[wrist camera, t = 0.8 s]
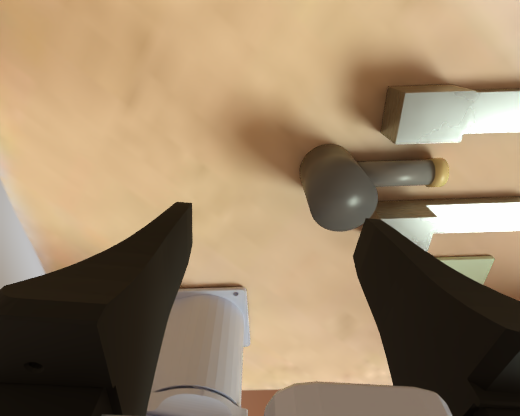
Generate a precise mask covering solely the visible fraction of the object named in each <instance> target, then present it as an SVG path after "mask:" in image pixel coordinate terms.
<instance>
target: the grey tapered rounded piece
mask: <svg viewBox="0 0 520 416" xmlns="http://www.w3.org/2000/svg"><path fill="white" fill-rule="evenodd" d="M448 177H449V167H448V163H447V162H446V160H445V159H443V158H431V159H427V160H399V161H368V162H356V161H355V159H354V158H353V157H352V156H351V154H350V153H349V152H348V151H347V150H346V149H344V148H343V147H341V146H338V145H333V144H326V145H321V146H319V147H316V148H314V149H313V150H311V151H310V152H309V153H308V154H307V155H306V156H305V158H304V159H303V161H302V163H301V166H300V179H301V182H302V185H303V188H304V192H305V195H306V198H307V201H308V205H309V208H310V211H311V214H312V217H313V218H314V220H315V221H316V222H317V223H318V224H319V225H320V226H321V227H323V228H325V229H328V230H331V231H348V230H351V229H354V228H357V227H358V226H360V225H362V224H363V223H364V222H365V219H366V218H370V217H371V216H372V214H373V213H374V211H375V209H376V206H377V203H378V193H377V189H376V187H384V186H415V185H425V186H427V187H442V186H444V185H445V184H446V182H447V180H448Z"/></svg>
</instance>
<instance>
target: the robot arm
mask: <svg viewBox="0 0 520 416" xmlns="http://www.w3.org/2000/svg"><path fill="white" fill-rule="evenodd" d="M191 248H192V203H184V202H176V203H175V204H173V205H172V206H171V207H170V208H168V209H167V210H166V211H165V212H163V213H162V214H161V215H160V216H158V217H157V218H156V219H154V220H153V221H152V222H151V223H149V224H148V225H147V226H145V227H144V228H142V229H141V230H139V231H138V232H136V233H135V234H133V235H132V236H130V237H129V238H127V239H125V240H124V241H122V242H120V243H118V244H117V245H115V246H113V247H111V248H109V249H107V250H105V251H103V252H101V253H99V254H97V255H94V256H92V257H90V258H88V259H85V260H83V261H81V262H78V263H76V264H73V265H71V266H68V267H65V268H63V269H60V270H57V271H54V272H51V273H48V274H45V275H42V276H38V277H35V278H31V279H28V280H24V281H21V282H17V283H14V284H10V285H6V286H4V287H3V288H2V289H0V416H248V410H247V409H245V408H241V390H242V364H243V347H247V346H249V345H250V331H249V317H248V303H247V290H246V289H245V288H244V287H224V288H192V289H179V287H180V285H181V282H182V279H183V277H184V274H185V271H186V268H187V265H188V262H189V257H190V253H191ZM353 259H354V263H355V268H356V272H357V276H358V279H359V282H360V284H361V287H362V289H363V292H364V294H365V297H366V299H367V302H368V304H369V307H370V309H371V312H372V314H373V317H374V319H375V322H376V324H377V327H378V330H379V333H380V336H381V340H382V343H383V347H384V350H385V354H386V358H387V362H388V366H389V370H390V374H391V378H392V382H393V386H389V385H371V384H352V383H334V382H306V383H296V384H293V385H291V386H288V387H286V388H284V389H282V390H279V391H277V392H276V393H275V395H274V396H273V397H272V398H271V400H270V401H269V403H268V404H267V405H266V408H265V413H264V416H520V301H517V300H515V299H513V298H510V297H508V296H506V295H503V294H501V293H499V292H497V291H495V290H493V289H491V288H489V287H487V286H484V285H482V284H480V283H478V282H476V281H474V280H473V279H471V278H469V277H467V276H465V275H463V274H462V273H460V272H458V271H456V270H455V269H453V268H451V267H449V266H448V265H446V264H444V263H443V262H441V261H440V260H438V259H437V258H435V257H434V256H432V255H431V254H429V253H428V252H426V251H425V250H423V249H422V248H420V247H419V246H418V245H416V244H415V243H413V242H412V241H411V240H409V239H408V238H406V237H405V236H404V235H402V234H401V233H400V232H398V231H397V230H396V229H394V228H393V227H391V226H390V225H388V224H387V223H385V222H384V221H382V220H380V219H371V218H366V219H365V222H364V225H363V228H362V231H361V234H360V237H359V240H358V243H357V246H356V249H355V252H354V255H353ZM234 292H237V293H234Z"/></svg>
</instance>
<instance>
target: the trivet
mask: <svg viewBox="0 0 520 416" xmlns="http://www.w3.org/2000/svg"><path fill="white" fill-rule="evenodd" d="M437 259H438V260H440V261H441V262H443V263H444V264H446V265H448V266H449V267H451V268H453V269H455V270H456V271H458V272H460V273H462V274H463V275H465V276H467V277H469V278H471V279H473V280H474V281H476V282H478V283H480V284H482V285H483V284H484V282H485V280H486V278H487V275H488V273H489V271H490V269H491V266H492V264H493V262H494V260H495V258H494V257H493V256H468V257H437Z"/></svg>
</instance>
